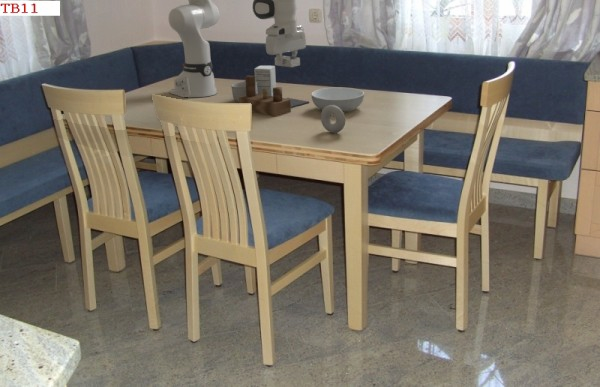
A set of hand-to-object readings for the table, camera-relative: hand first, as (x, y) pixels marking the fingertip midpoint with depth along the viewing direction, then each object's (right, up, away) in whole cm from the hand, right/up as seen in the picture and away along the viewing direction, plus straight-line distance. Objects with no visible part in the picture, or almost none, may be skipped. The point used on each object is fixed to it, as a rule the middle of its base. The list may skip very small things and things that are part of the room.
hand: (287, 62), depth 300 cm
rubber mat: (0, -16, +6) cm, 17 cm away
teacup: (-18, -14, +13) cm, 26 cm away
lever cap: (0, -1, 0) cm, 1 cm away
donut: (+17, -32, -37) cm, 52 cm away
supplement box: (-10, -11, +21) cm, 25 cm away
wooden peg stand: (-9, -20, -4) cm, 22 cm away
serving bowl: (+20, -20, -6) cm, 29 cm away
